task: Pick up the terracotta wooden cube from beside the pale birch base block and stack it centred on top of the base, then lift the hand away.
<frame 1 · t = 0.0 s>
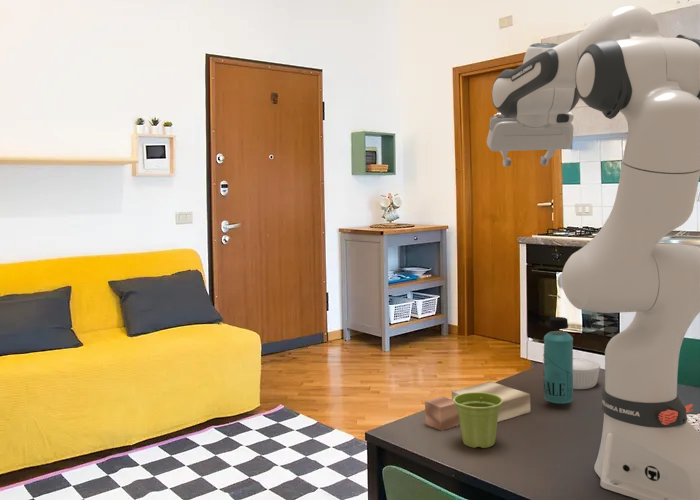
hand: (525, 164, 160), 54 cm above the table, tool tilted 30°, fingers open, 8 cm apart
birch base: (490, 410, 143), on the table
plant pot: (478, 443, 126), on the table
ramekin: (575, 385, 160), on the table
beverage bottle: (558, 406, 145), on the table
terracotta cube: (442, 425, 136), on the table
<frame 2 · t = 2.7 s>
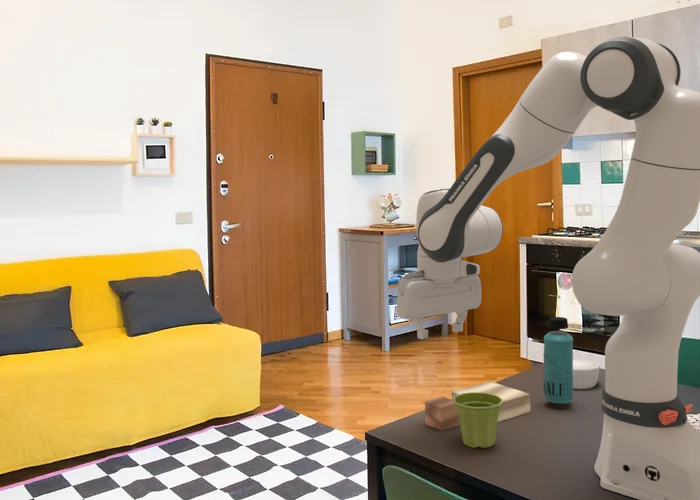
hand: (440, 335, 134), 19 cm above the table, tool pointing down, fingers open, 8 cm apart
nothing on the table moved.
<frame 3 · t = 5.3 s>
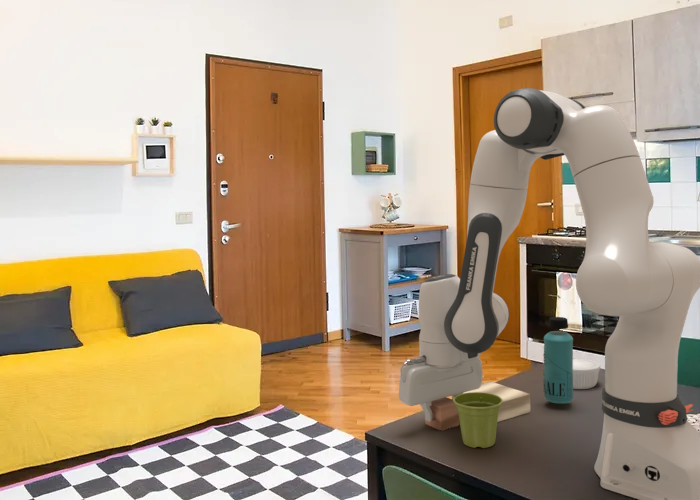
hand: (442, 417, 136), 2 cm above the table, tool pointing down, fingers closed on terracotta cube, 5 cm apart
terracotta cube: (442, 424, 136), on the table, touching gripper
everything else where it was.
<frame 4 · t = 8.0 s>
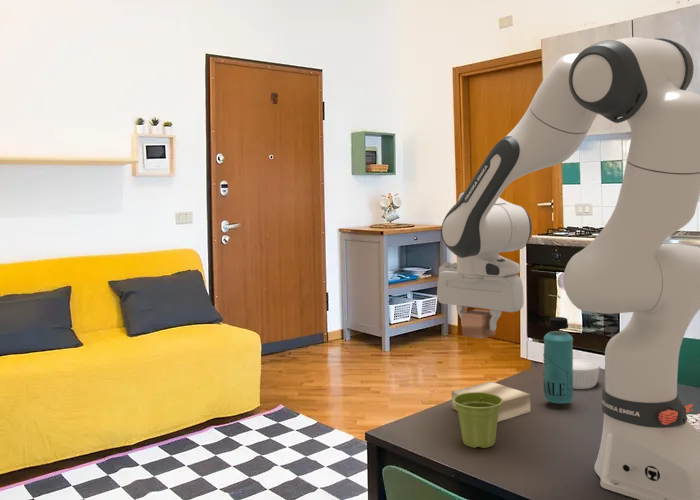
hand: (478, 327, 140), 19 cm above the table, tool pointing down, fingers closed on terracotta cube, 5 cm apart
terracotta cube: (478, 335, 140), point 17 cm above the table, touching gripper
everything else where it was.
when the fingers open (7 cm above the table, at t = 10.6 s): terracotta cube drops 1 cm, resting on birch base.
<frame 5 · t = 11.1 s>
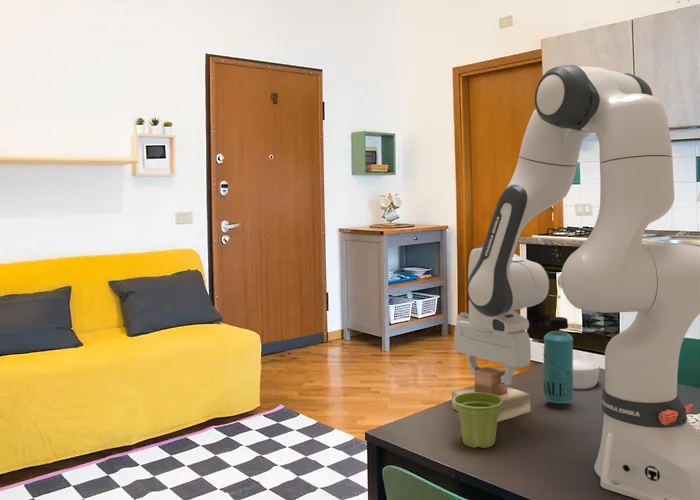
hand: (490, 379, 143), 7 cm above the table, tool pointing down, fingers open, 8 cm apart
terracotta cube: (490, 392, 143), point 4 cm above the table, touching birch base
everything else where it was.
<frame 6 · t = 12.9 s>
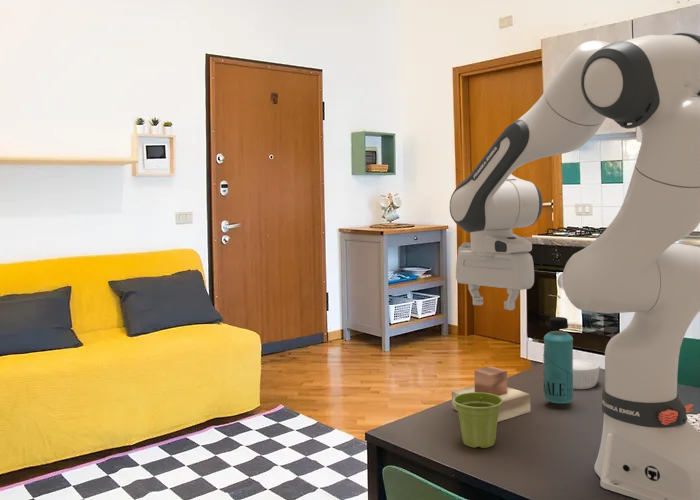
hand: (493, 307, 139), 23 cm above the table, tool pointing down, fingers open, 8 cm apart
nothing on the table moved.
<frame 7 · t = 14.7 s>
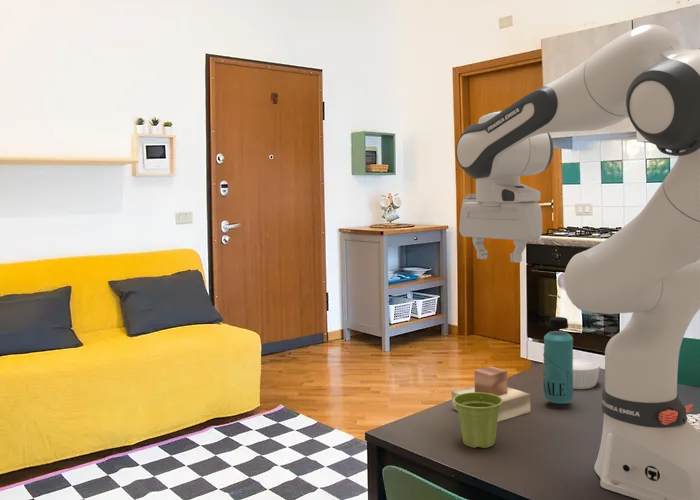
hand: (498, 260, 134), 34 cm above the table, tool pointing down, fingers open, 8 cm apart
nothing on the table moved.
at the end: terracotta cube inside the target area on the birch base (0.1 cm from its centre), point 4.0 cm above the birch base's base; terracotta cube tilted 0°; the gripper is holding nothing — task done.
